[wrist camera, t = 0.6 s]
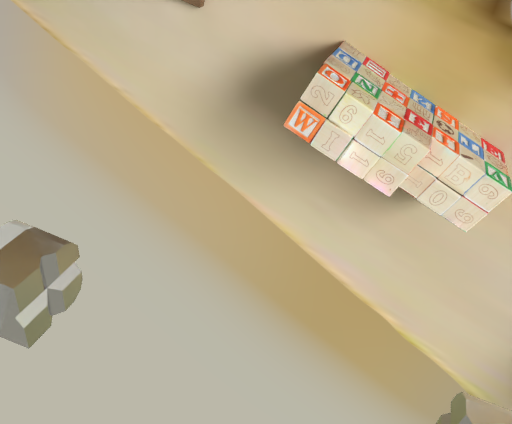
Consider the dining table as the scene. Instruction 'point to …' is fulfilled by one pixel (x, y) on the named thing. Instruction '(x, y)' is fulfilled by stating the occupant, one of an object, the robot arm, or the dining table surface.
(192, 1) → the walnut coaster
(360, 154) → the stack of blocks
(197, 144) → the dining table surface
